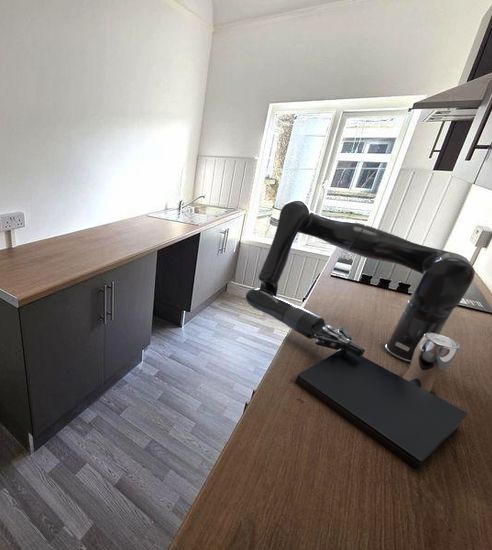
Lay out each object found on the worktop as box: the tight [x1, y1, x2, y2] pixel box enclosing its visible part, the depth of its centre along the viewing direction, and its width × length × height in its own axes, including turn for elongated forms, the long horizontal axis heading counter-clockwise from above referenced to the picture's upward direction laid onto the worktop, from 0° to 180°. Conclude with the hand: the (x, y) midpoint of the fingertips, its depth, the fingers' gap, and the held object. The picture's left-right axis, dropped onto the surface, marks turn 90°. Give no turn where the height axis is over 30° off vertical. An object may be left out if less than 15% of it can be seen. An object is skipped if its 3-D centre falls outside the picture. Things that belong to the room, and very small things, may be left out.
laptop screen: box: [296, 349, 469, 463], centre depth 72 cm, size 21×26×1 cm
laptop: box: [294, 376, 461, 471], centre depth 73 cm, size 21×26×2 cm
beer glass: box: [401, 333, 461, 393], centre depth 78 cm, size 7×7×15 cm
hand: (362, 353), depth 80 cm, fingers closed
